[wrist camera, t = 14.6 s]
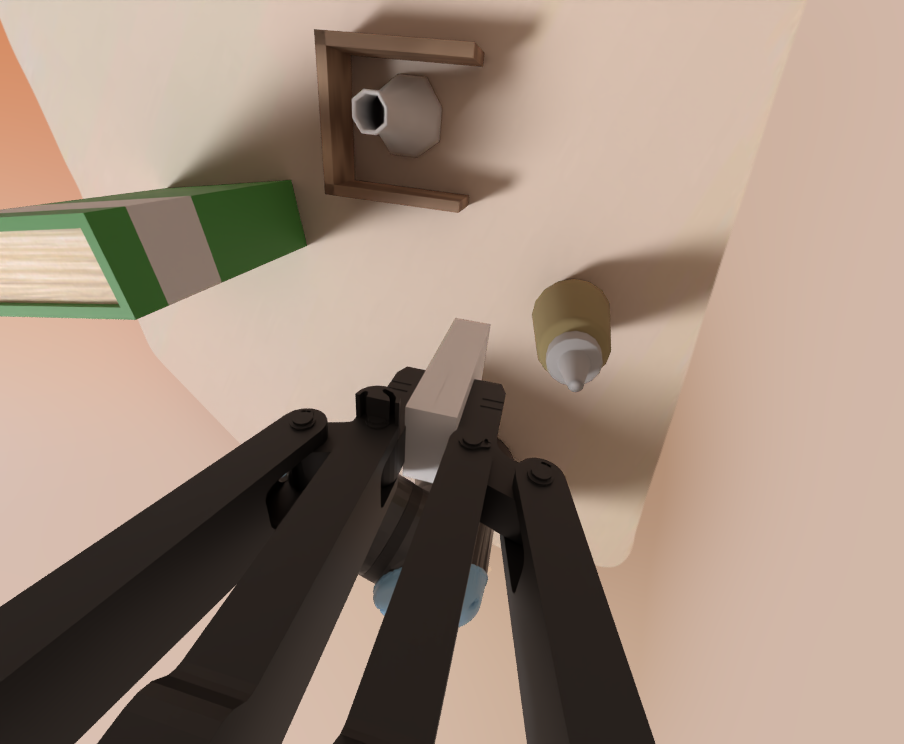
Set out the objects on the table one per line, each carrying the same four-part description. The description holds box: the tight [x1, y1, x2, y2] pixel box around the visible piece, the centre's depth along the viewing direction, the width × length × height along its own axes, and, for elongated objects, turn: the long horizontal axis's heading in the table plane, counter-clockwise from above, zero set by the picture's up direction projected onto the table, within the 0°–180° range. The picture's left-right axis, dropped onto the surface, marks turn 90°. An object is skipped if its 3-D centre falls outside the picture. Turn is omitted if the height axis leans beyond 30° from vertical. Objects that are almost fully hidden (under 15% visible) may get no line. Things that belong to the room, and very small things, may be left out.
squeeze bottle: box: [532, 279, 611, 392], centre depth 38 cm, size 8×8×18 cm
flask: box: [352, 74, 442, 157], centre depth 36 cm, size 7×7×10 cm
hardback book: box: [0, 180, 307, 320], centre depth 40 cm, size 18×7×24 cm, turn 94°
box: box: [314, 29, 484, 213], centre depth 39 cm, size 13×14×5 cm
